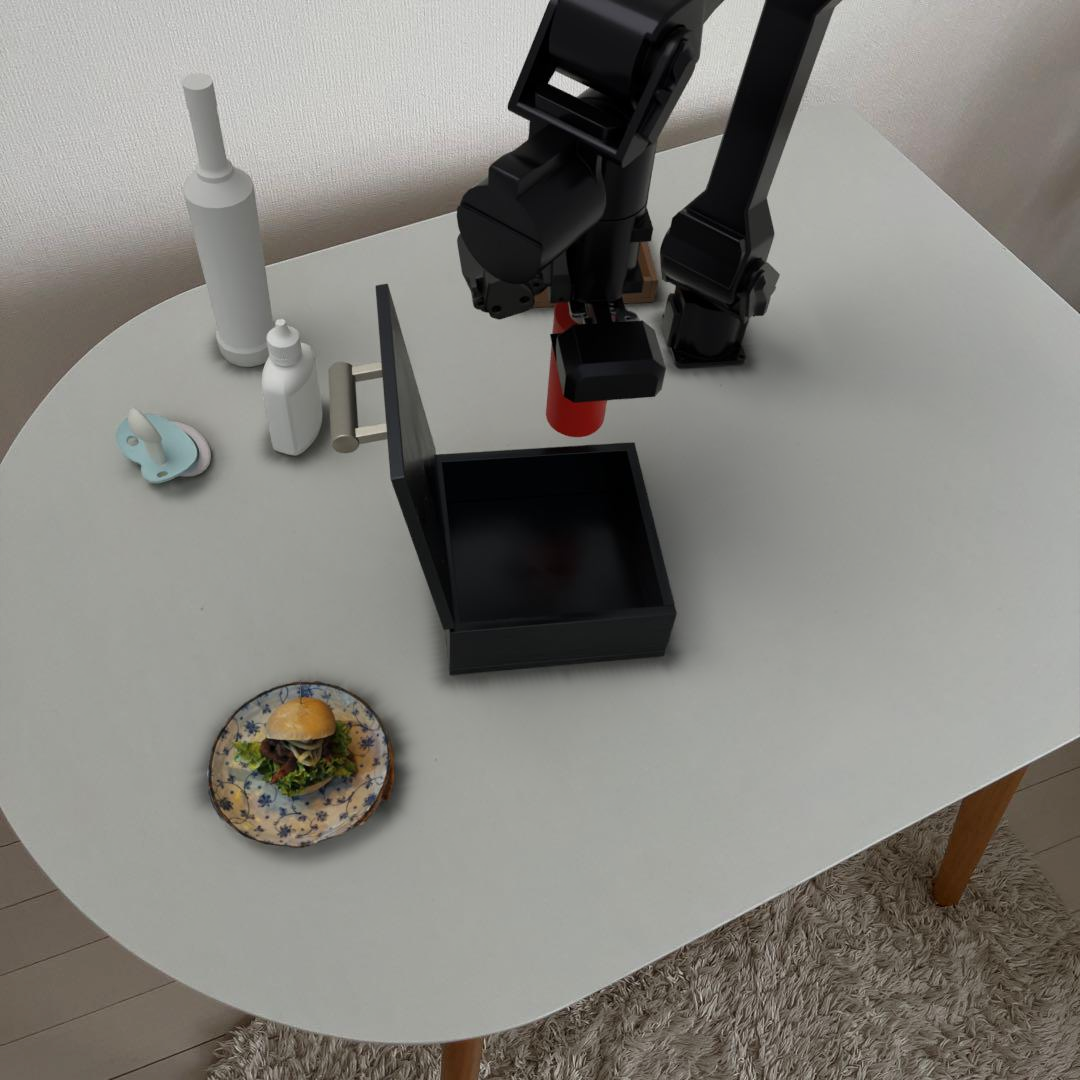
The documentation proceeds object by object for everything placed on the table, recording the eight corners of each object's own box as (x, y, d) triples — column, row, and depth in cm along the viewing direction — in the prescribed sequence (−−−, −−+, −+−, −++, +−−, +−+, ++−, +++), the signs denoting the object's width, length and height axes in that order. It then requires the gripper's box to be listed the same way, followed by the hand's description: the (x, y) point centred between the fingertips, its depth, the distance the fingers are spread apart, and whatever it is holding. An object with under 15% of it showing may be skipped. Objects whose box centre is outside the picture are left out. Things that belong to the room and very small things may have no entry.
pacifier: (178, 415, 91) (112, 448, 88) (165, 359, 86) (94, 393, 84) (228, 468, 88) (161, 504, 86) (218, 413, 83) (146, 450, 81)
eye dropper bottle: (342, 429, 91) (330, 320, 82) (287, 464, 89) (268, 356, 79) (308, 400, 93) (292, 289, 83) (253, 433, 90) (230, 324, 81)
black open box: (625, 488, 90) (634, 441, 85) (664, 656, 81) (677, 613, 76) (431, 502, 88) (430, 454, 83) (449, 675, 79) (449, 633, 74)
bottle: (268, 374, 94) (219, 109, 74) (209, 362, 95) (145, 95, 75) (288, 333, 97) (247, 67, 77) (231, 321, 98) (175, 54, 78)
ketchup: (598, 390, 85) (615, 270, 75) (609, 435, 82) (628, 317, 72) (541, 394, 84) (550, 274, 74) (550, 439, 82) (561, 322, 72)
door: (387, 282, 69) (318, 295, 69) (404, 477, 60) (324, 491, 60) (435, 449, 83) (377, 459, 83) (455, 628, 74) (390, 640, 74)
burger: (174, 810, 72) (149, 760, 65) (274, 666, 78) (259, 609, 72) (338, 890, 69) (327, 846, 63) (426, 734, 76) (424, 681, 70)
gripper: (450, 103, 71) (452, 289, 84) (486, 307, 60) (481, 484, 73) (621, 97, 72) (597, 281, 85) (685, 295, 62) (647, 471, 74)
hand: (578, 372), depth 79 cm, fingers closed on ketchup, 4 cm apart
